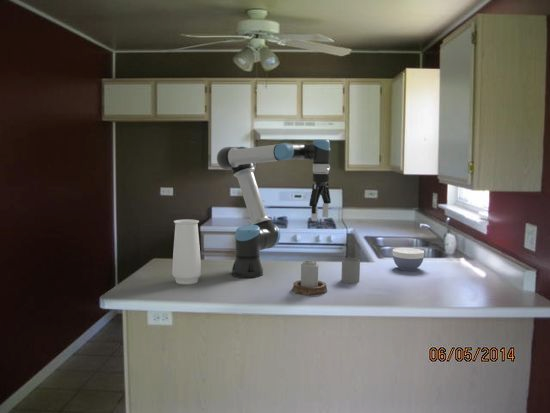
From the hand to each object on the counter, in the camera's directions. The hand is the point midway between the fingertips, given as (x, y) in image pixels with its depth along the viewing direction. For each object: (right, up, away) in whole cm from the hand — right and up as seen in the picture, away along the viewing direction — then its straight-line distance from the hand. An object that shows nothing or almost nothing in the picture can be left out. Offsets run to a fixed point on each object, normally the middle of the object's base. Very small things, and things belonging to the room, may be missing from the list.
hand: (319, 218), depth 245 cm
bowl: (+48, -27, +27) cm, 61 cm away
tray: (-6, -31, -16) cm, 35 cm away
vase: (-61, -29, -4) cm, 68 cm away
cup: (+14, -29, +2) cm, 33 cm away
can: (-6, -30, -16) cm, 35 cm away
